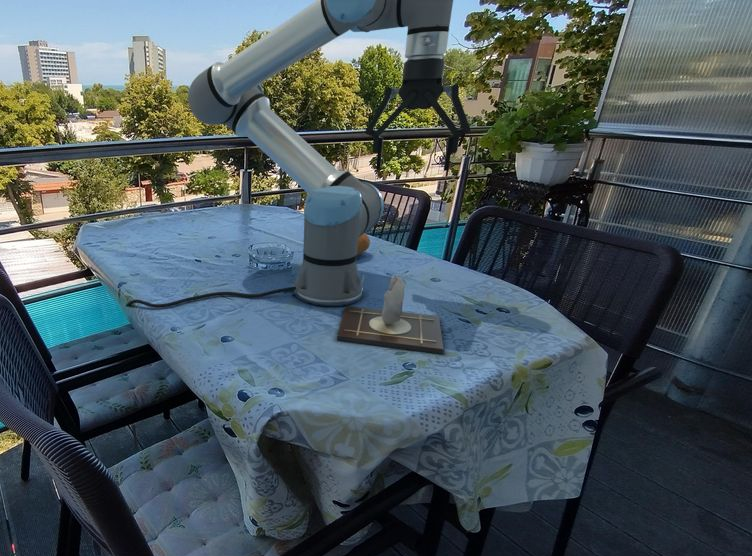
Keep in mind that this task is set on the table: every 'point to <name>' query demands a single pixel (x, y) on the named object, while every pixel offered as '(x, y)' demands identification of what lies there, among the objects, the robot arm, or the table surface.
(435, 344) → the board
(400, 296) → the fossil
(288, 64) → the robot arm
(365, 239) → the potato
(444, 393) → the table surface
